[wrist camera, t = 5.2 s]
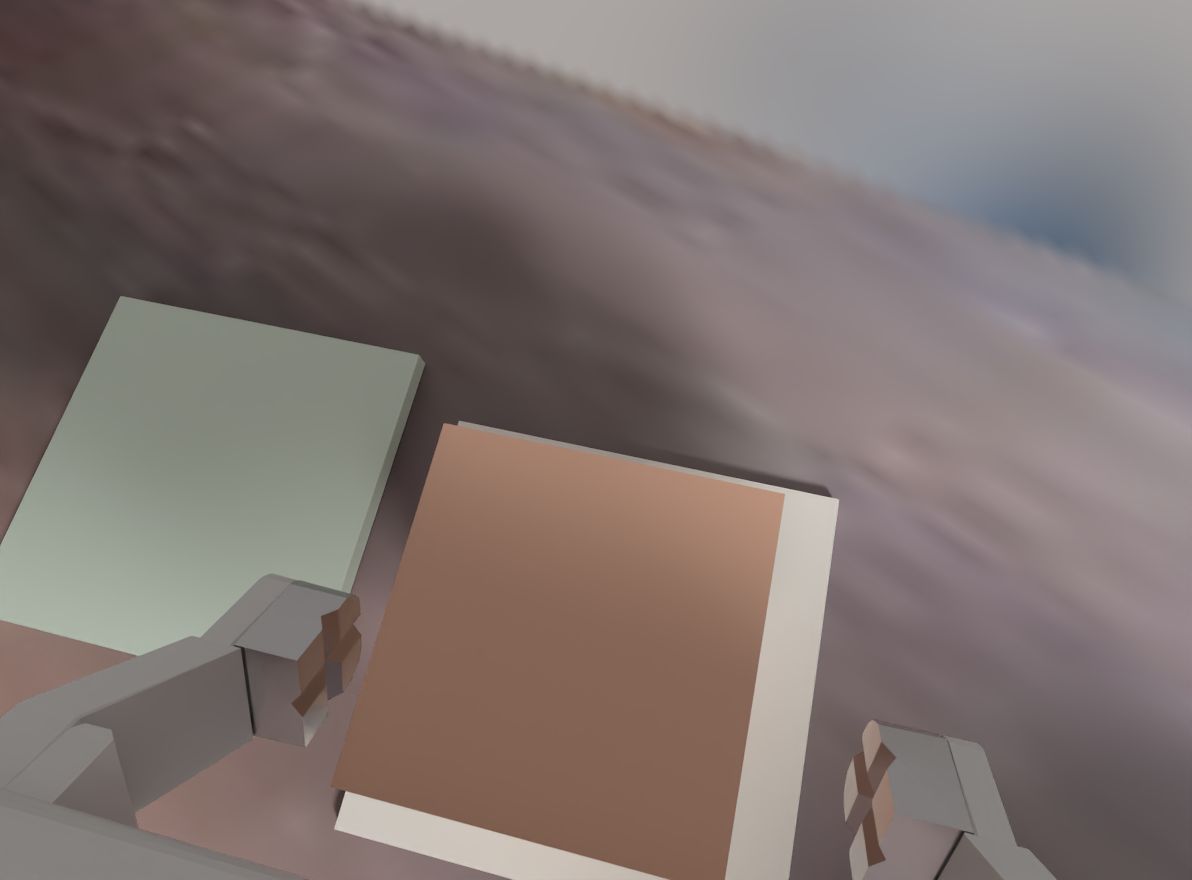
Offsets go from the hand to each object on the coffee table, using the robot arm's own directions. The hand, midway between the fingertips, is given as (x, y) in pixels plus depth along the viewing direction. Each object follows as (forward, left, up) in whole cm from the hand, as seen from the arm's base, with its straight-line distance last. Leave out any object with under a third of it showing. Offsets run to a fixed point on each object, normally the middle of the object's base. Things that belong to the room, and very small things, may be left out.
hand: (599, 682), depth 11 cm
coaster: (-11, +2, -6) cm, 13 cm away
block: (0, 0, -6) cm, 6 cm away
